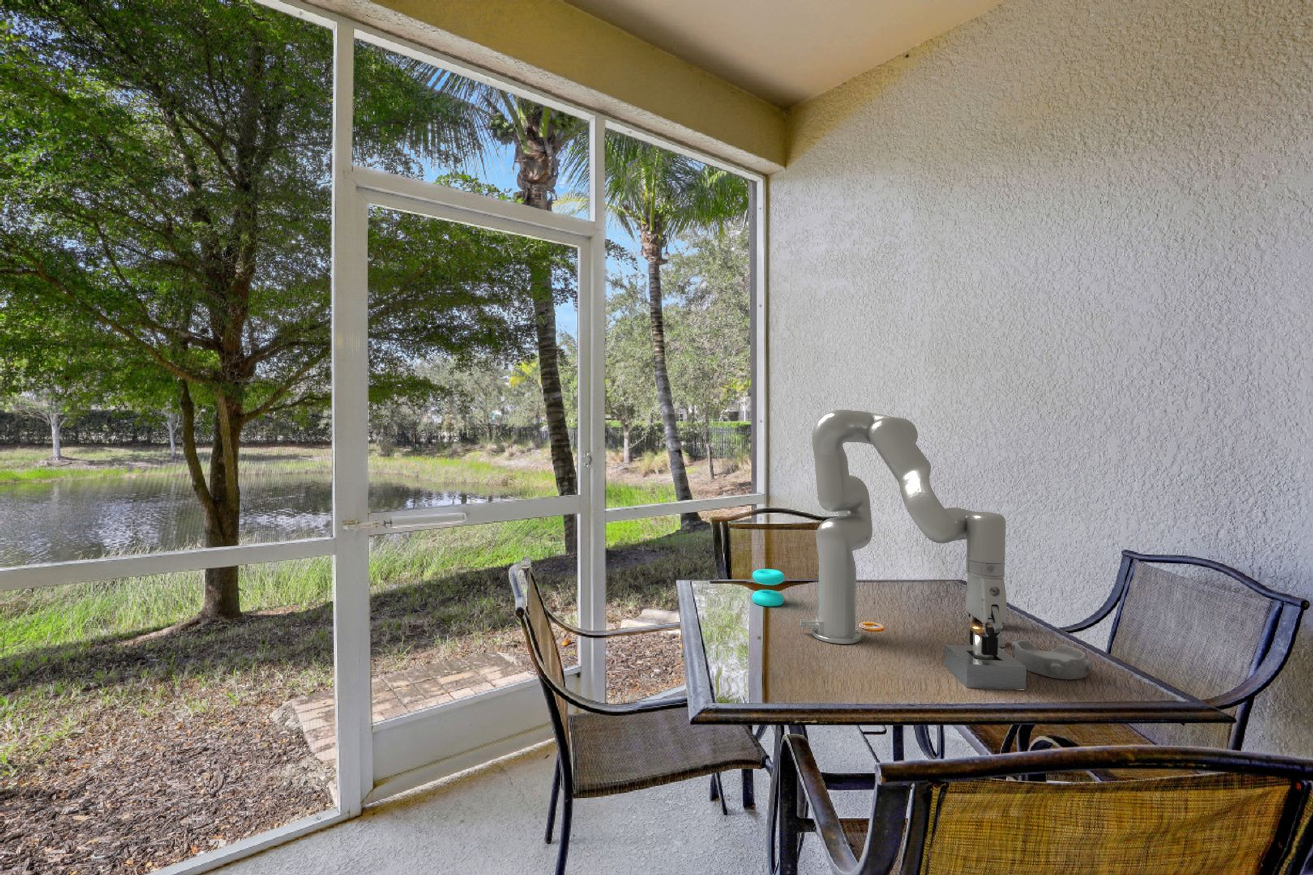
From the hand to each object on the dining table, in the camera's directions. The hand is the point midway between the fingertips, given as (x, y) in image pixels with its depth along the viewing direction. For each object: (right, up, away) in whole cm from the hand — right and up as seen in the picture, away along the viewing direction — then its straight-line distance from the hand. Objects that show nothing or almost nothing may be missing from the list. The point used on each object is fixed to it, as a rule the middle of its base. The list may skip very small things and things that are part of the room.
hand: (983, 648), depth 135 cm
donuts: (-37, -6, +57) cm, 69 cm away
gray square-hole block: (0, -6, 0) cm, 6 cm away
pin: (0, -6, 0) cm, 6 cm away
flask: (+14, -7, +23) cm, 28 cm away
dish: (+19, -7, +5) cm, 21 cm away
